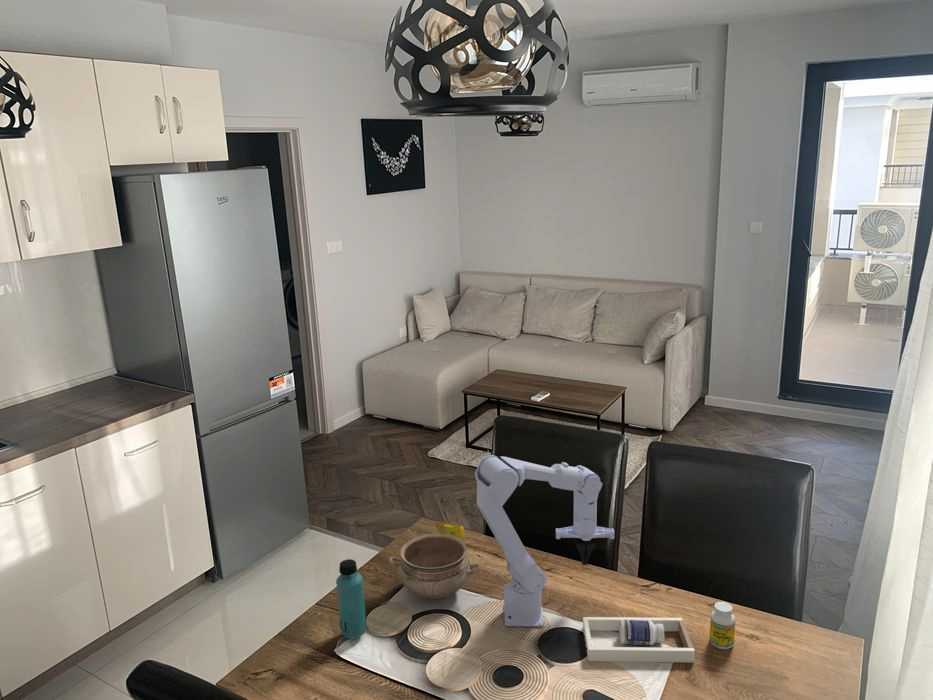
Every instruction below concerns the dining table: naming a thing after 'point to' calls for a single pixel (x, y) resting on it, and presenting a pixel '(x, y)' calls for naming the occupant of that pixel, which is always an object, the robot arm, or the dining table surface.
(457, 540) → the cooking pot
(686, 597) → the dining table surface
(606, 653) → the corral
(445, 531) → the crayon box
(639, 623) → the pill bottle
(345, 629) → the beverage bottle
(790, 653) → the dining table surface
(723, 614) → the supplement bottle
